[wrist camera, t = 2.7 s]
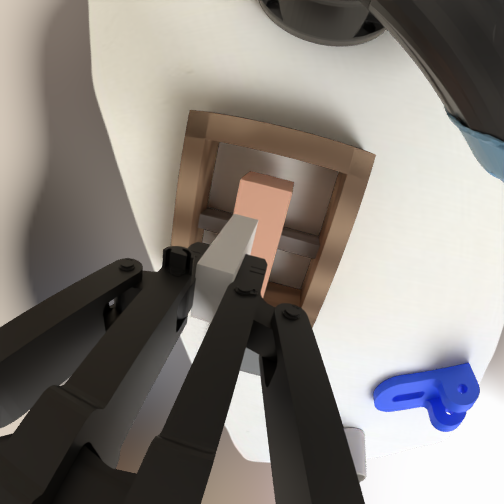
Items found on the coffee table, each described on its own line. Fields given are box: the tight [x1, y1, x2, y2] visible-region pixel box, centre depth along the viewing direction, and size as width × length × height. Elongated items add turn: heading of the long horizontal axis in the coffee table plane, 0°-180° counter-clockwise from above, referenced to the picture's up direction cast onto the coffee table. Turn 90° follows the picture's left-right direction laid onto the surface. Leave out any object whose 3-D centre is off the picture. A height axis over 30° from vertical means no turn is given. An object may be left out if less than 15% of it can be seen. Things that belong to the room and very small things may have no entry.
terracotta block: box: [233, 171, 294, 298], centre depth 28 cm, size 12×4×4 cm, turn 168°
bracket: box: [373, 363, 480, 432], centre depth 35 cm, size 18×8×9 cm, turn 98°
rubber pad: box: [240, 348, 260, 376], centre depth 40 cm, size 10×10×1 cm
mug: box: [344, 428, 366, 482], centre depth 44 cm, size 12×8×11 cm
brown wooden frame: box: [171, 110, 376, 327], centre depth 30 cm, size 21×17×5 cm
